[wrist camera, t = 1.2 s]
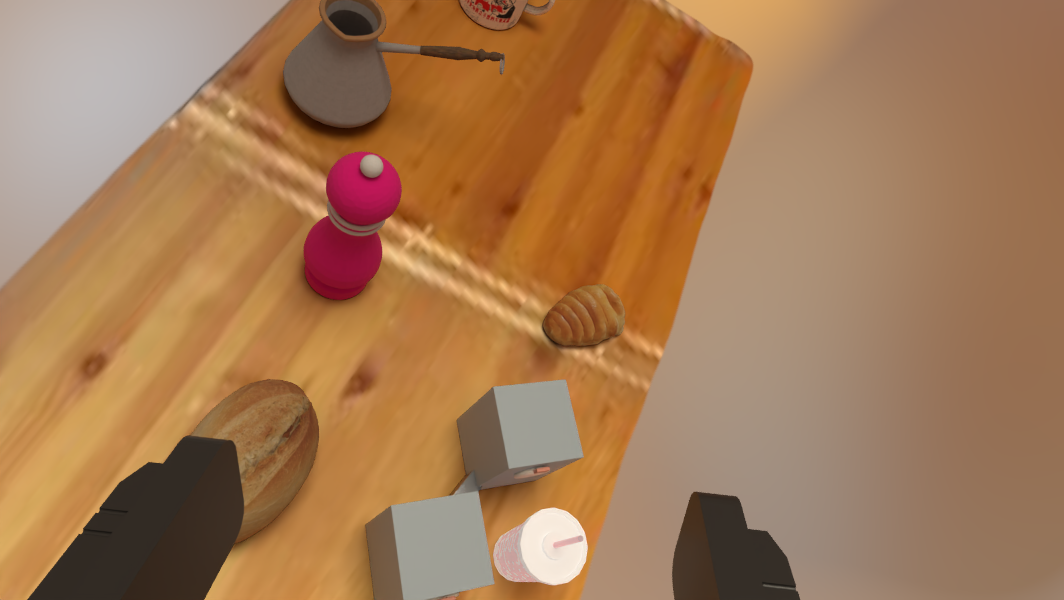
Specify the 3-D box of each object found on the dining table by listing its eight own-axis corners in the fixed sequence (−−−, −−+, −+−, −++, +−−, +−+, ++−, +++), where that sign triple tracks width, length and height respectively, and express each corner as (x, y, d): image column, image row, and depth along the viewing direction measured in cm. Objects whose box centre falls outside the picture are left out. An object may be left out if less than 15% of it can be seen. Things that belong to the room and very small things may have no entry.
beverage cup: (500, 510, 67) (560, 484, 56) (555, 539, 68) (625, 519, 56) (474, 572, 64) (532, 558, 52) (532, 602, 65) (601, 595, 53)
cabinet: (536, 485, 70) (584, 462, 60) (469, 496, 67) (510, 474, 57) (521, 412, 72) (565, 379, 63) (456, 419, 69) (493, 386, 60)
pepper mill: (321, 316, 68) (354, 213, 52) (286, 255, 69) (307, 134, 53) (385, 288, 72) (436, 183, 55) (351, 230, 73) (391, 111, 57)
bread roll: (342, 421, 65) (356, 397, 58) (244, 577, 57) (248, 569, 51) (250, 368, 64) (253, 337, 57) (137, 520, 56) (126, 504, 49)
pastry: (558, 363, 77) (572, 351, 73) (529, 309, 78) (542, 295, 75) (622, 335, 81) (638, 322, 78) (594, 284, 83) (609, 270, 80)
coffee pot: (267, 118, 75) (277, 14, 62) (297, 42, 80) (312, -67, 68) (457, 183, 81) (501, 100, 68) (473, 108, 86) (517, 19, 74)
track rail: (416, 564, 62) (423, 561, 60) (403, 552, 62) (409, 549, 60) (502, 455, 70) (510, 450, 68) (490, 444, 70) (498, 439, 68)
